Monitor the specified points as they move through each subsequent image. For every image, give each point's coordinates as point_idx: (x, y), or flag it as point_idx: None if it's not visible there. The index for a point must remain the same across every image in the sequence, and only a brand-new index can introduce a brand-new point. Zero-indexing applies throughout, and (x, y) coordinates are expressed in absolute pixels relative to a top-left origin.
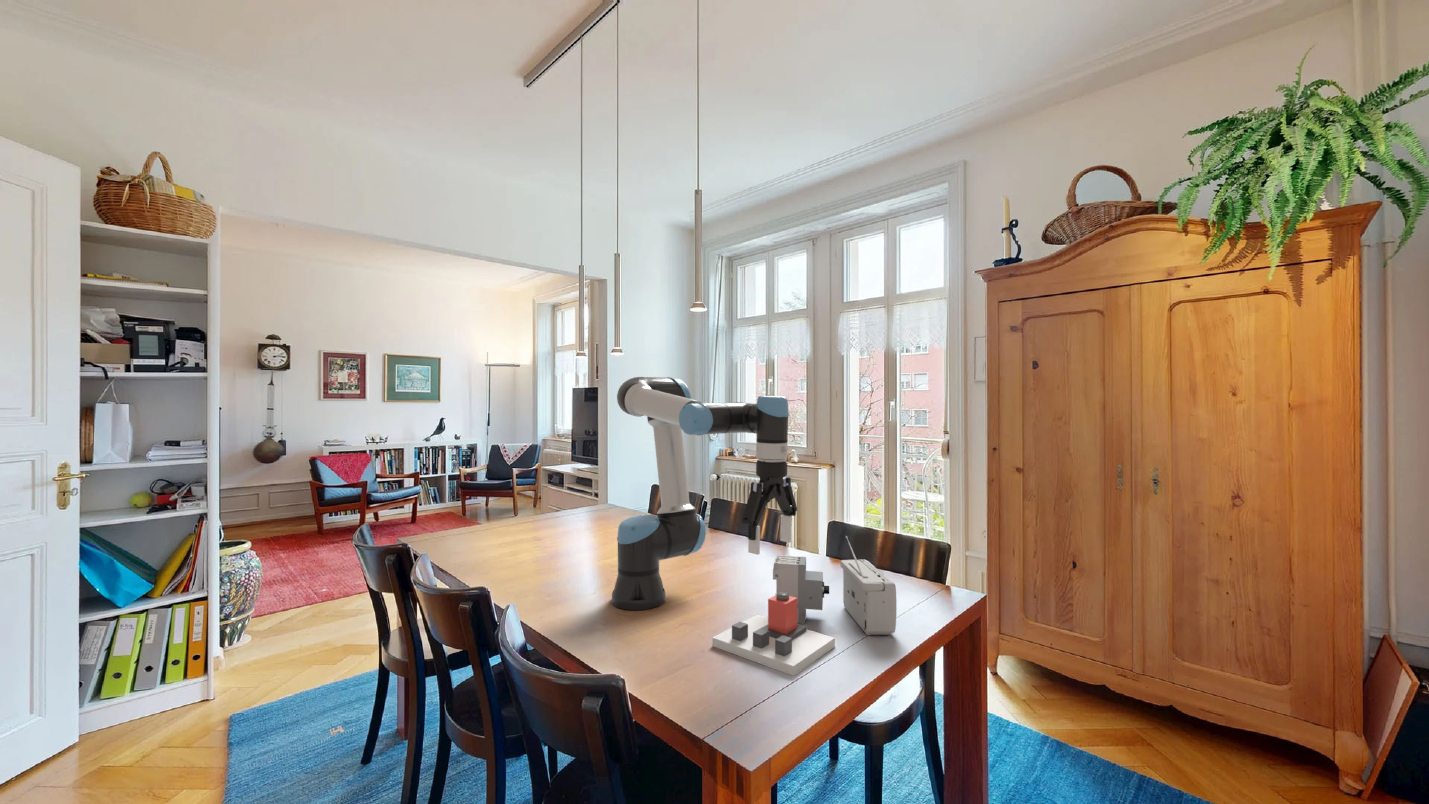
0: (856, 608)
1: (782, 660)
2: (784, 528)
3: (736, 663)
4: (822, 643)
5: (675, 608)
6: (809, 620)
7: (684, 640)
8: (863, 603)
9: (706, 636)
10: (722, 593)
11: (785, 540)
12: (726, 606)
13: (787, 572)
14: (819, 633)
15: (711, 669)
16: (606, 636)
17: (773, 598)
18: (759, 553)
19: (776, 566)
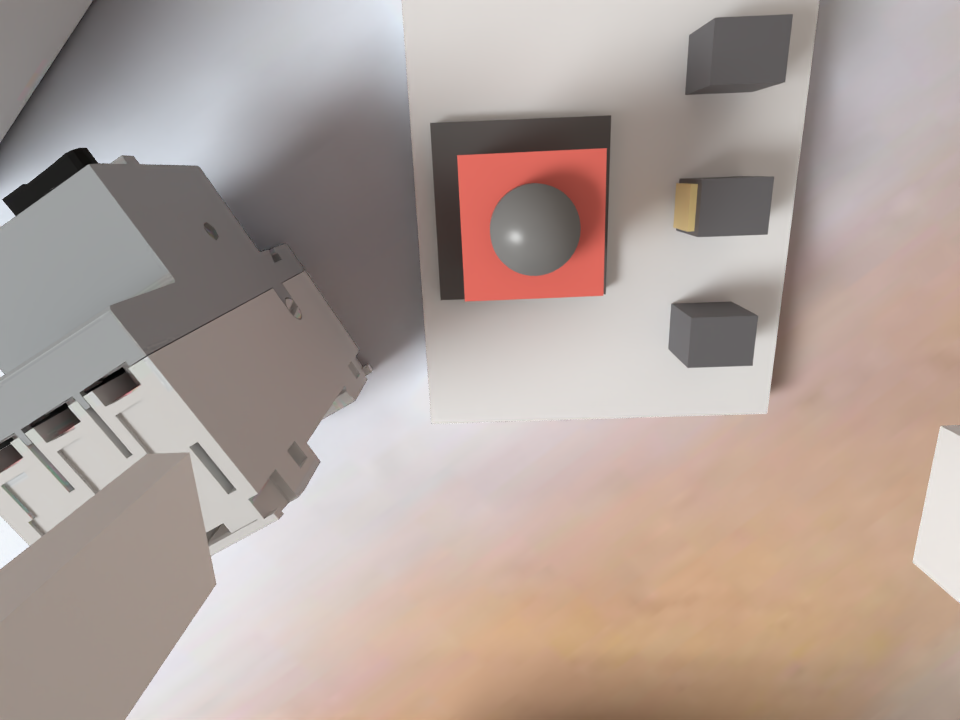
0: (17, 7)
1: (801, 13)
2: (82, 677)
3: (832, 226)
4: None
5: (547, 710)
6: None
7: (768, 507)
8: None
9: (687, 472)
10: (294, 688)
11: (190, 521)
12: (391, 598)
13: (238, 403)
14: (409, 50)
15: (931, 269)
16: (893, 706)
17: (571, 275)
18: (949, 428)
19: (266, 494)
